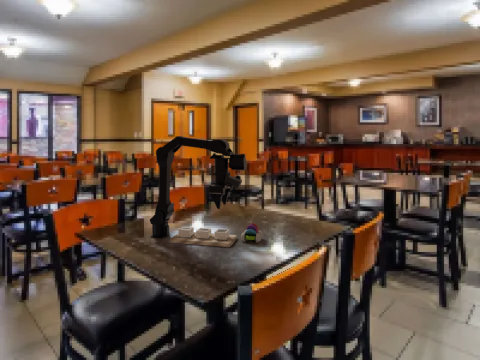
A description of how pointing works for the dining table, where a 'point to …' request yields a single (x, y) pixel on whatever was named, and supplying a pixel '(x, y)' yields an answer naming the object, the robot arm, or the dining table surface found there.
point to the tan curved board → (204, 240)
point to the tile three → (221, 234)
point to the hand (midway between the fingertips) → (221, 206)
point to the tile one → (186, 231)
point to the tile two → (203, 233)
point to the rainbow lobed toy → (252, 233)
